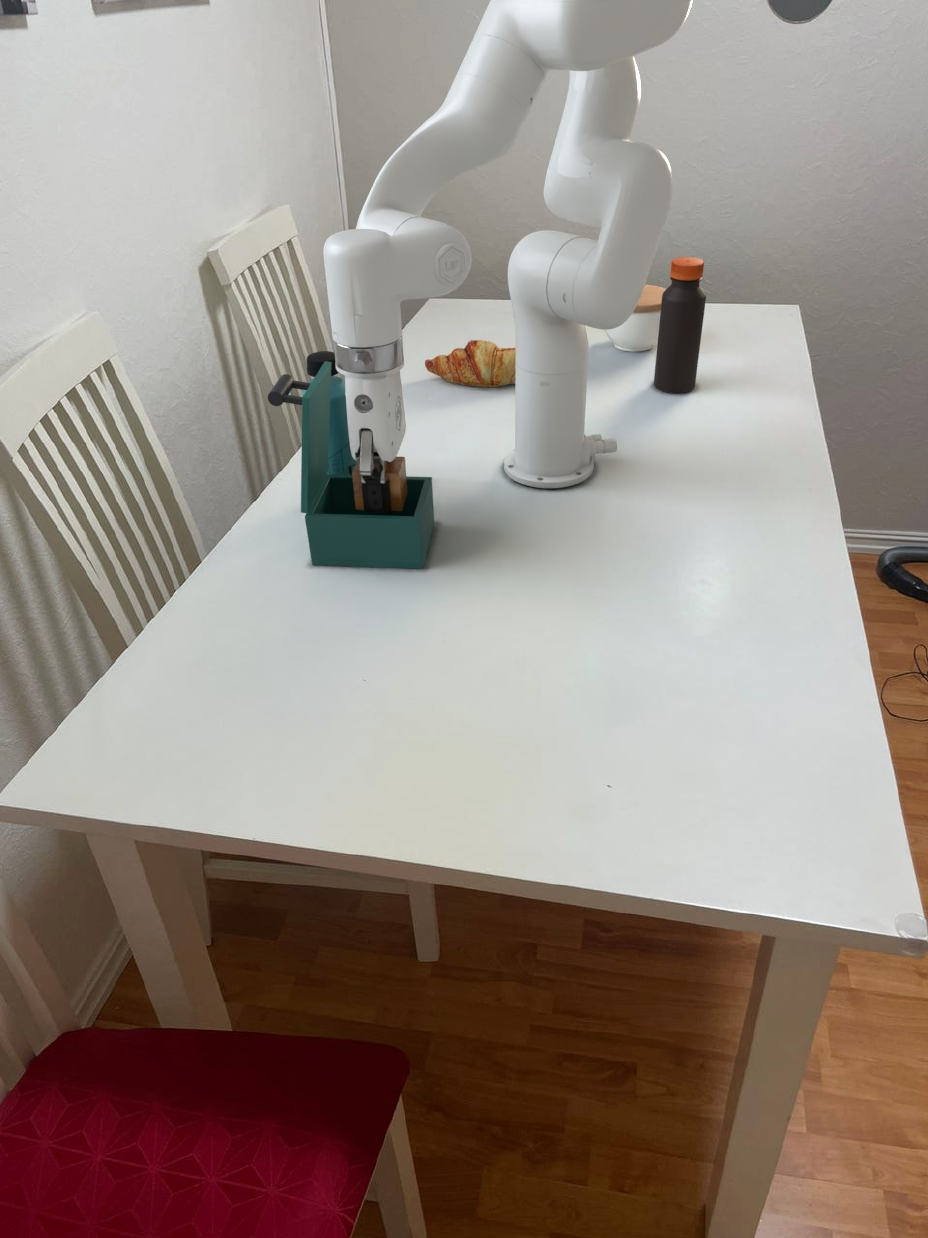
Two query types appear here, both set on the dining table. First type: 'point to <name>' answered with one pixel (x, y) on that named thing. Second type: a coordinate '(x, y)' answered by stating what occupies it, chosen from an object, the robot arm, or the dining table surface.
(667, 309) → the vinegar
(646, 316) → the lidded bowl
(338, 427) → the beverage bottle
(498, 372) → the croissant
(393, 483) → the block
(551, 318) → the robot arm
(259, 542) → the dining table surface
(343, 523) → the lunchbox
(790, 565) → the dining table surface
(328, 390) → the lunchbox lid
